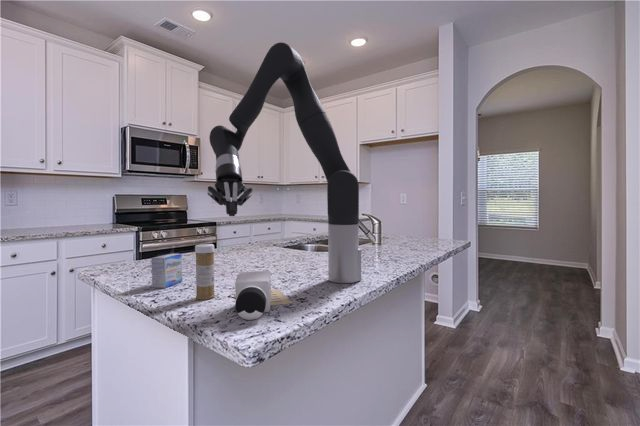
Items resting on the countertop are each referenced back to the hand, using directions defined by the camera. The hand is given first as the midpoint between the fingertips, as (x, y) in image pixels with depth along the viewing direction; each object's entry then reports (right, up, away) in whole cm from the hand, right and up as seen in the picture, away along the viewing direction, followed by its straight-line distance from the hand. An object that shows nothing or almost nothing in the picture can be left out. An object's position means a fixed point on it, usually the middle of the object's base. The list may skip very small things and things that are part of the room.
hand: (232, 214), depth 89 cm
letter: (+9, -21, -7) cm, 24 cm away
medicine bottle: (+9, -17, -11) cm, 22 cm away
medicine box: (-21, -21, +7) cm, 30 cm away
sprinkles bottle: (-5, -21, -6) cm, 23 cm away
